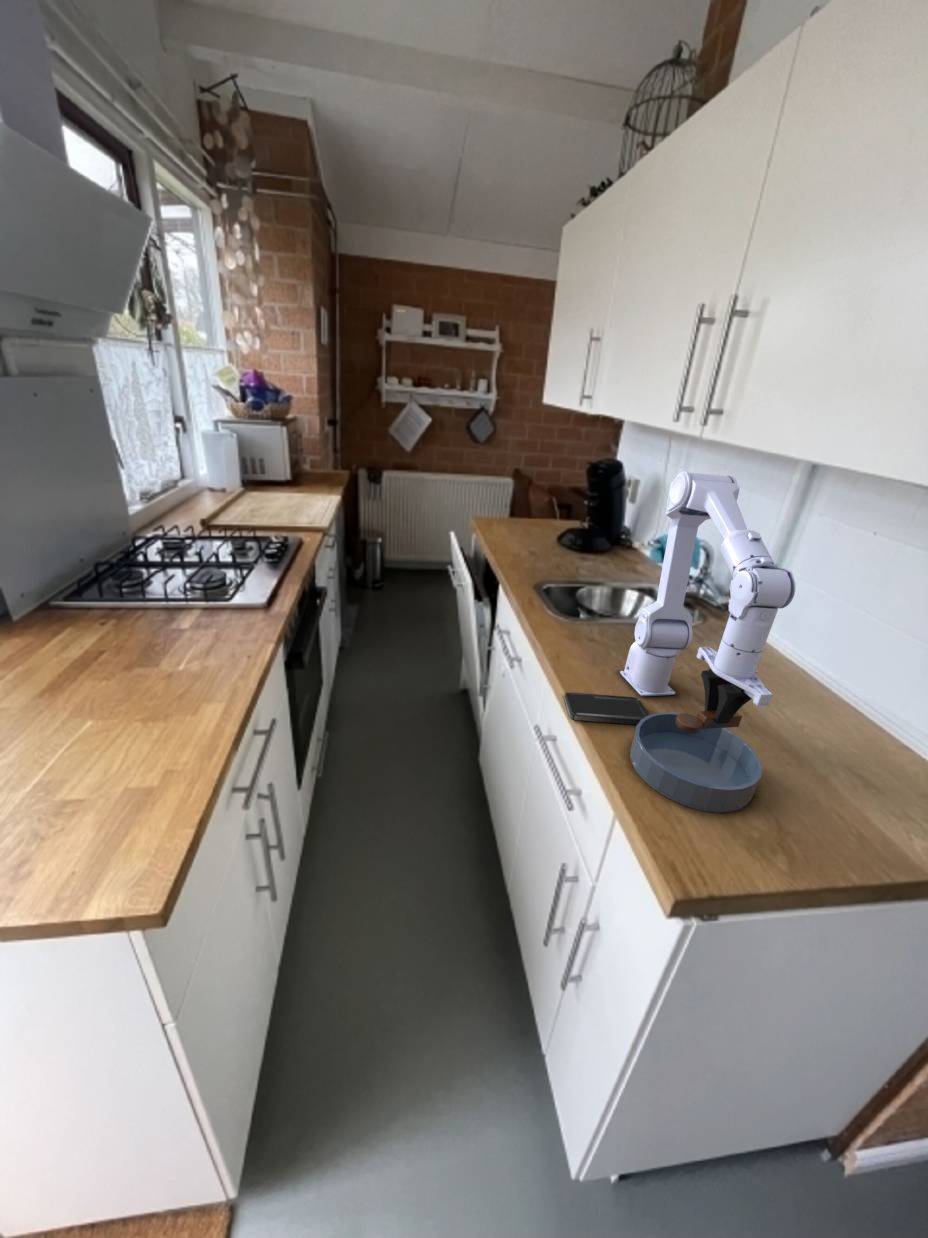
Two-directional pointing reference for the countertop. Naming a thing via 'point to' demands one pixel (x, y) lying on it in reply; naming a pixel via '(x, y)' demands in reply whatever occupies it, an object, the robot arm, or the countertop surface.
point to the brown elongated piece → (703, 721)
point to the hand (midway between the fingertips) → (716, 717)
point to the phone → (604, 708)
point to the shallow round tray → (695, 764)
